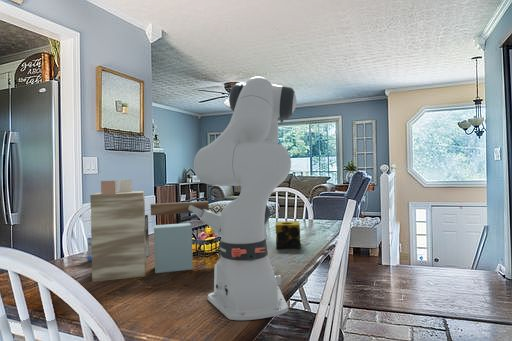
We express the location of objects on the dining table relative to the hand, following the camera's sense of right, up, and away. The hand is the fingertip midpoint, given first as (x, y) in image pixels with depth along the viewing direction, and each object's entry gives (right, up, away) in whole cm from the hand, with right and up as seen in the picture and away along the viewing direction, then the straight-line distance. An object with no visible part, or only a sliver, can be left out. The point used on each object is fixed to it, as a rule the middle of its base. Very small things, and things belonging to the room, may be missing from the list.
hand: (188, 206), depth 118 cm
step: (-5, -21, -2) cm, 21 cm away
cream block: (-21, +5, -1) cm, 22 cm away
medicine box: (-36, -22, +12) cm, 43 cm away
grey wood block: (-20, -21, -6) cm, 30 cm away
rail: (-3, -2, -1) cm, 4 cm away
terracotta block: (-22, +5, -11) cm, 25 cm away
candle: (+37, -20, +28) cm, 50 cm away
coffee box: (-22, -21, +13) cm, 34 cm away
